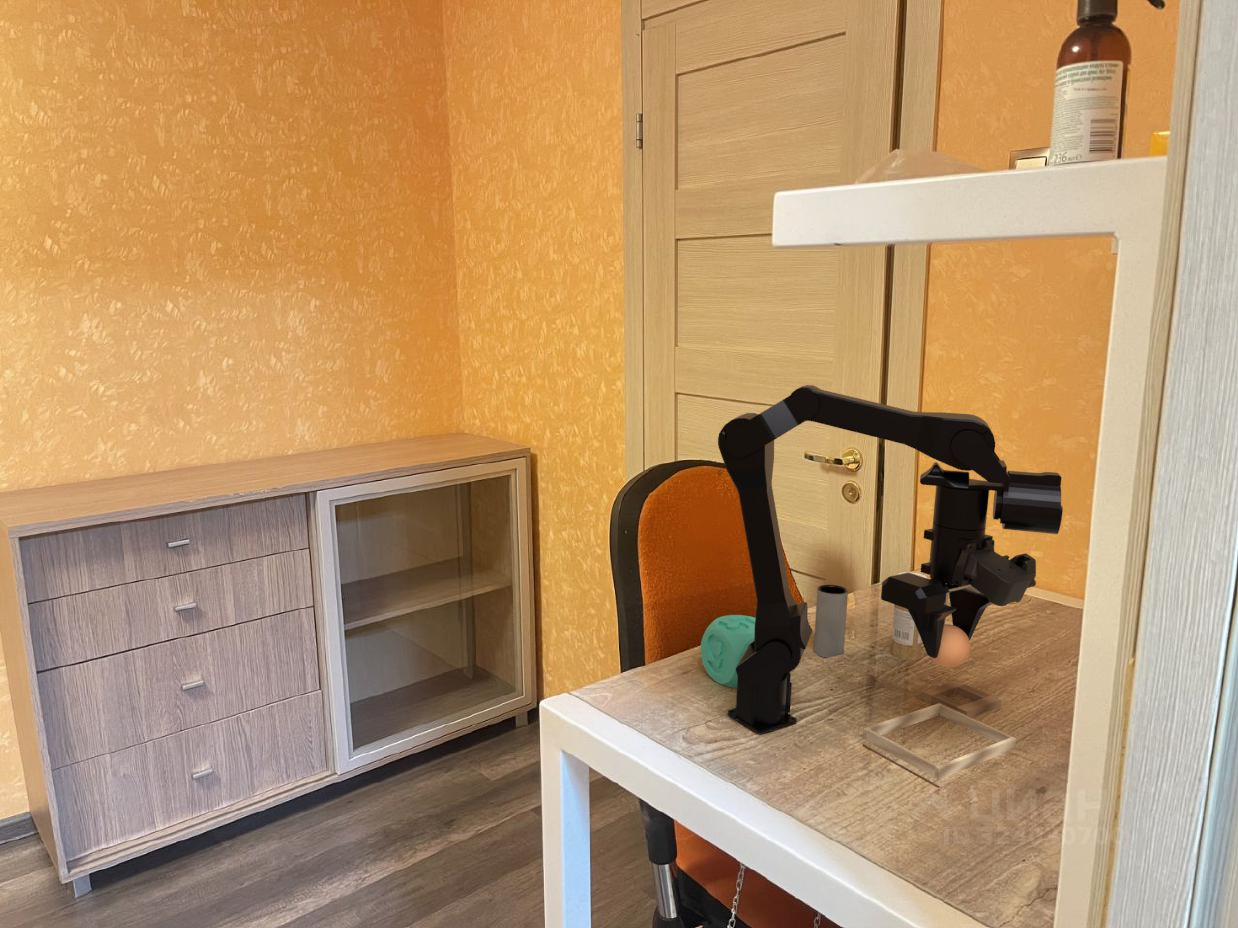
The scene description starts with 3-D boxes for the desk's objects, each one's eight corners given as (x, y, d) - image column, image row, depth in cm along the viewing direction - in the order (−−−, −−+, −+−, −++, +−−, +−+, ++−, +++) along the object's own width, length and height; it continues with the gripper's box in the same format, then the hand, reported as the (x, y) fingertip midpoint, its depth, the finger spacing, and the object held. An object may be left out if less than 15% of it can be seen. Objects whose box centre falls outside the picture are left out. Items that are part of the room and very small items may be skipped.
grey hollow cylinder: (832, 646, 140) (836, 583, 138) (849, 656, 136) (854, 592, 134) (807, 649, 138) (811, 585, 136) (824, 660, 134) (828, 594, 132)
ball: (950, 677, 102) (954, 636, 101) (915, 662, 106) (918, 622, 105) (977, 668, 105) (981, 628, 104) (941, 654, 109) (945, 615, 108)
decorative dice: (777, 681, 126) (780, 627, 125) (735, 693, 122) (737, 638, 121) (740, 661, 133) (742, 610, 131) (698, 673, 128) (700, 620, 127)
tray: (937, 787, 99) (939, 768, 98) (862, 745, 108) (863, 728, 107) (1014, 756, 106) (1016, 738, 106) (938, 719, 115) (939, 702, 115)
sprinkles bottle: (927, 663, 133) (934, 577, 131) (904, 668, 131) (911, 581, 129) (905, 653, 137) (912, 569, 135) (882, 657, 135) (889, 572, 133)
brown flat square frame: (965, 726, 114) (966, 711, 113) (920, 705, 119) (921, 691, 119) (999, 713, 117) (1000, 699, 117) (954, 694, 123) (955, 680, 123)
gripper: (969, 552, 91) (955, 695, 93) (1071, 530, 101) (1056, 660, 104) (883, 528, 100) (872, 659, 103) (985, 510, 110) (973, 630, 113)
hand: (946, 652), depth 105 cm, fingers closed on ball, 5 cm apart
